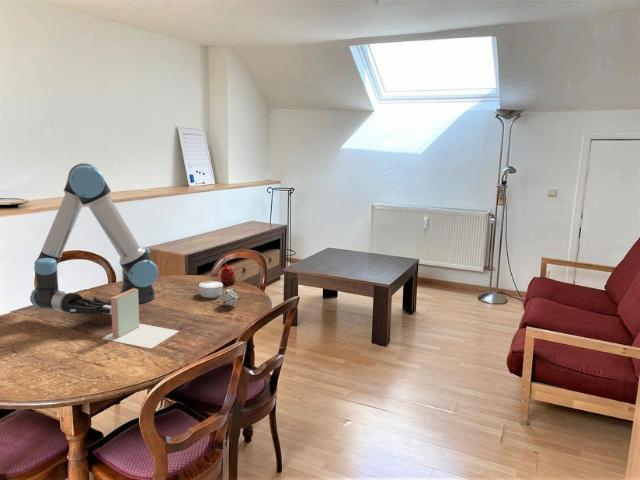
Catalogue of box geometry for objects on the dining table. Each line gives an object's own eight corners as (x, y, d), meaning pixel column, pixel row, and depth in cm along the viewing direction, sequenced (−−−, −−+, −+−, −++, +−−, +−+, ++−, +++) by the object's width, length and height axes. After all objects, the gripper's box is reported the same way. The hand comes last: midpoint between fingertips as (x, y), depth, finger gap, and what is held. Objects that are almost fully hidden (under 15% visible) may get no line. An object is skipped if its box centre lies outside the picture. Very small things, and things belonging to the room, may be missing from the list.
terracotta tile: (118, 338, 177) (116, 298, 174) (112, 337, 178) (110, 297, 175) (139, 326, 188) (138, 289, 185) (134, 325, 189) (133, 288, 186)
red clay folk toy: (230, 286, 244) (230, 257, 241) (217, 284, 246) (217, 255, 243) (237, 282, 251) (237, 253, 248) (225, 280, 253) (225, 252, 250)
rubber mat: (101, 340, 176) (101, 338, 176) (132, 323, 192) (132, 322, 192) (151, 350, 170) (151, 348, 170) (179, 332, 186) (179, 330, 186)
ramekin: (212, 289, 238) (212, 279, 237) (228, 295, 231) (228, 284, 230) (193, 294, 230) (193, 284, 228) (208, 300, 223) (208, 289, 222)
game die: (233, 313, 218) (247, 295, 218) (224, 312, 210) (238, 294, 210) (220, 300, 222) (233, 283, 221) (210, 299, 214) (224, 281, 213)
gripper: (81, 306, 195) (131, 315, 188) (54, 317, 183) (106, 327, 176) (80, 288, 194) (130, 296, 187) (53, 298, 182) (105, 307, 175)
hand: (118, 311), depth 181 cm, fingers closed
